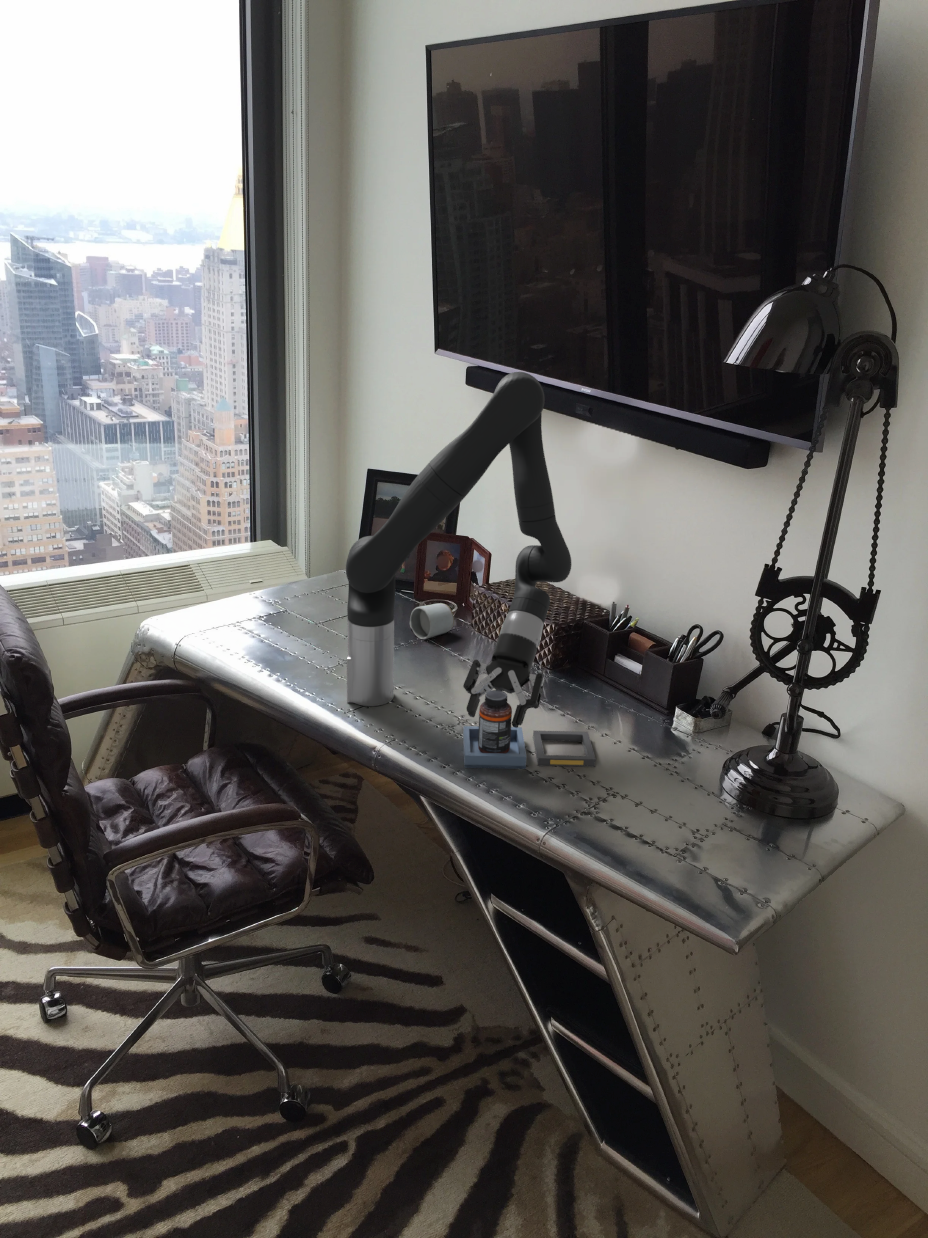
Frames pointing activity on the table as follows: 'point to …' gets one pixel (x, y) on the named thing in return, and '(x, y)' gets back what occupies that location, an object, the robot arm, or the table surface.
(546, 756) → the frame
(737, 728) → the table surface
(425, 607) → the ceramic mug
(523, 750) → the tray
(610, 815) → the table surface
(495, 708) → the supplement bottle
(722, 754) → the table surface
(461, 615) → the table surface
